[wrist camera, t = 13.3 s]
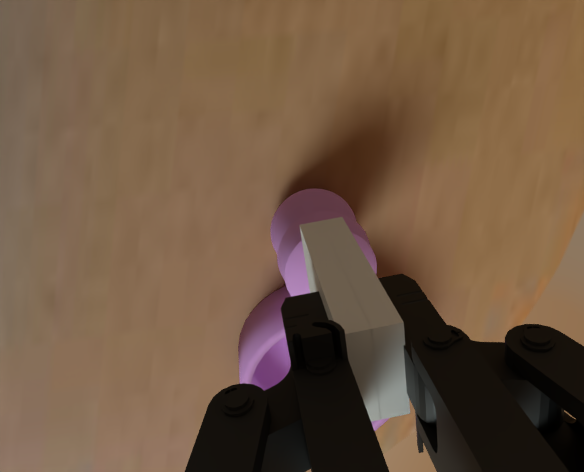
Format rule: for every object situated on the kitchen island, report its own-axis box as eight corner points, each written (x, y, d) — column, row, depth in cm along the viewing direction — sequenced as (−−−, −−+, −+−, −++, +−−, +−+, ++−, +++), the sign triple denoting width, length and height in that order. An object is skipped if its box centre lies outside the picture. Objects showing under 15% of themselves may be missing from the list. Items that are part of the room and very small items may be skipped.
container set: (385, 394, 55) (429, 499, 43) (245, 411, 54) (251, 525, 42) (392, 173, 45) (453, 231, 33) (220, 188, 44) (219, 253, 32)
